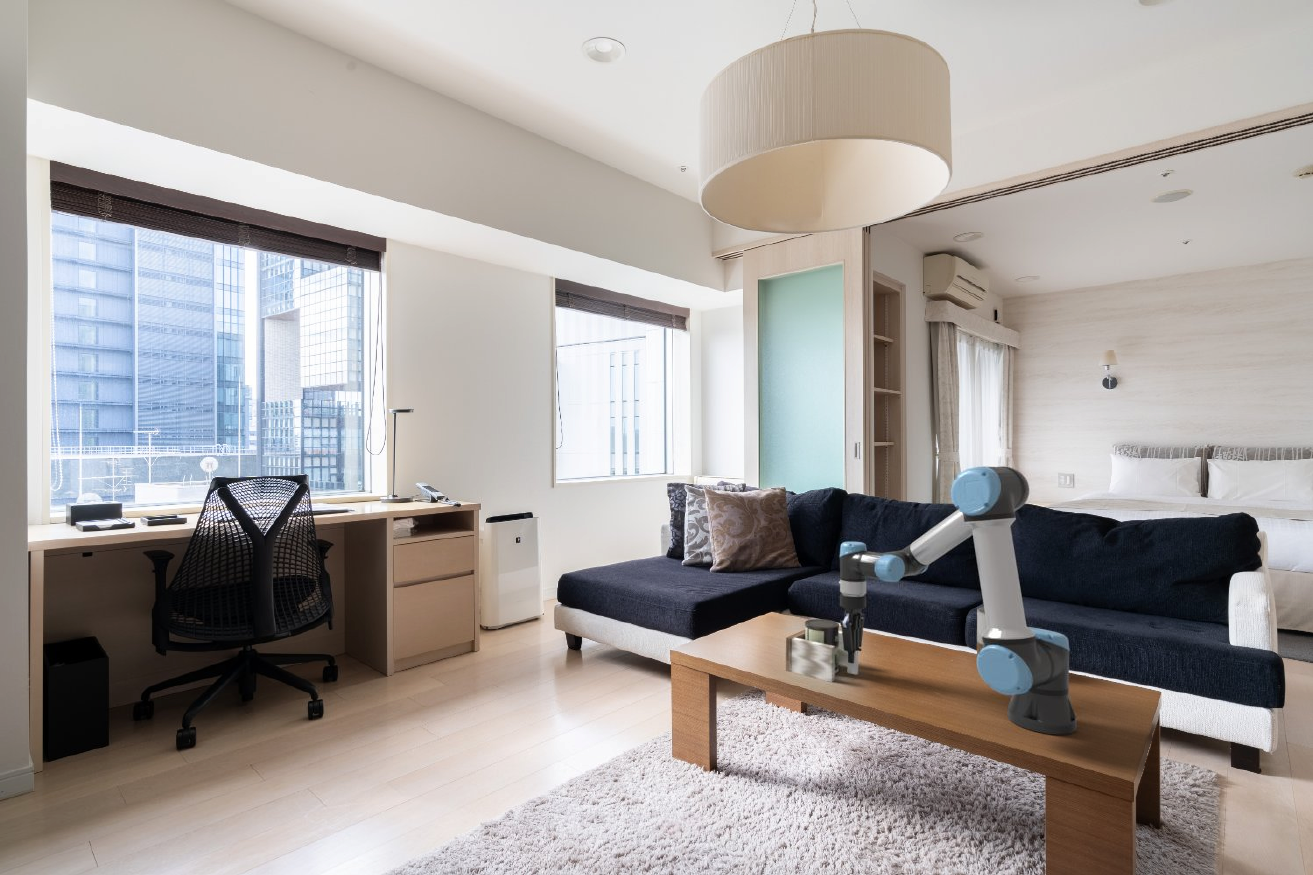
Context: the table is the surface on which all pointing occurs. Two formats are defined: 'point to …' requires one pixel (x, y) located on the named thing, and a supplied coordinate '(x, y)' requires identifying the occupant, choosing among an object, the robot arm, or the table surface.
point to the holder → (813, 657)
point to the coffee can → (823, 634)
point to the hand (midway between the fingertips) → (852, 672)
